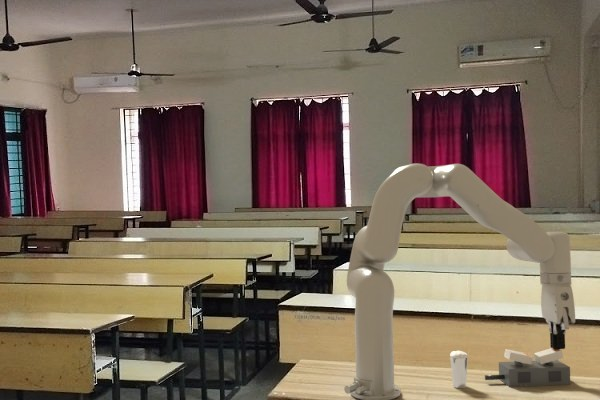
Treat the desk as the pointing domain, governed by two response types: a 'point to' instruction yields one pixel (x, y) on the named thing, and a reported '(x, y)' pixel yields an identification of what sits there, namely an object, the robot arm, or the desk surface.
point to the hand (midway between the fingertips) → (557, 348)
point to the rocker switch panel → (532, 374)
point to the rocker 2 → (548, 355)
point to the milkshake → (459, 368)
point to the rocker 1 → (518, 356)
